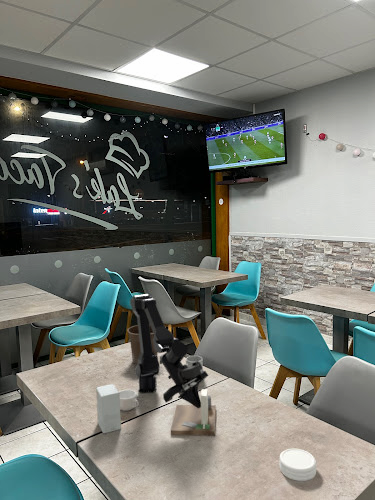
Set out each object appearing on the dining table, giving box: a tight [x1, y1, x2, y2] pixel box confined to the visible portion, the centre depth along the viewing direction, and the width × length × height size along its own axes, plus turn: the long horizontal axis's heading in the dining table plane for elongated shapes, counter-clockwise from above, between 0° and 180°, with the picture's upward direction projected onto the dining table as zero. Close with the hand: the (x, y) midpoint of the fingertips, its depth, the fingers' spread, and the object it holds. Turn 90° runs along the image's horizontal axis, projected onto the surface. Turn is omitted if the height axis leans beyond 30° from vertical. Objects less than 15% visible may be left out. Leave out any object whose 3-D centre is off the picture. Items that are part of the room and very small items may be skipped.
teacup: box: [118, 389, 140, 412], centre depth 146 cm, size 10×8×5 cm
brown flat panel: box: [170, 404, 217, 437], centre depth 136 cm, size 14×17×2 cm
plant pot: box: [126, 324, 159, 365], centre depth 193 cm, size 16×16×16 cm
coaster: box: [278, 448, 317, 482], centre depth 110 cm, size 10×10×4 cm
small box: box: [95, 383, 122, 434], centre depth 134 cm, size 8×6×13 cm
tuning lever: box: [200, 388, 212, 429], centre depth 135 cm, size 16×4×10 cm, turn 174°
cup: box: [185, 355, 204, 371], centre depth 170 cm, size 7×10×9 cm
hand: (200, 407), depth 132 cm, fingers closed
